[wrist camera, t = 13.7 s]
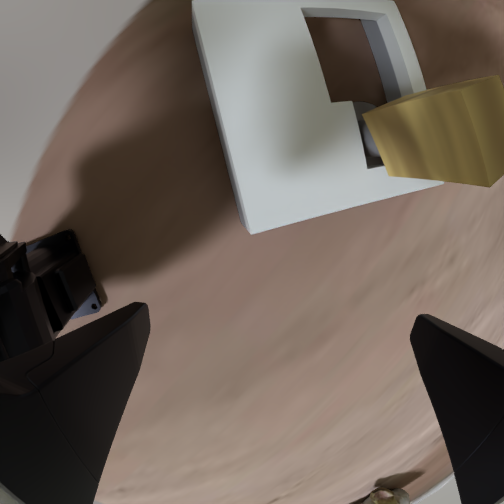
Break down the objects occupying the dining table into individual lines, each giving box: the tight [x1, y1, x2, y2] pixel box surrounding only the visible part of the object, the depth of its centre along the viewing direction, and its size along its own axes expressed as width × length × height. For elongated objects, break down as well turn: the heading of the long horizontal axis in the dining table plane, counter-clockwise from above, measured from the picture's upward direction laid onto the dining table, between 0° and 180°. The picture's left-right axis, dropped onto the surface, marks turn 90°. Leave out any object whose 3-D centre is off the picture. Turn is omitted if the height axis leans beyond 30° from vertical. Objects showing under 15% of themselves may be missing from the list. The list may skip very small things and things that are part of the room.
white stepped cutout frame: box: [192, 0, 444, 235], centre depth 17 cm, size 15×15×4 cm
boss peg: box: [353, 75, 504, 187], centre depth 14 cm, size 6×6×13 cm
